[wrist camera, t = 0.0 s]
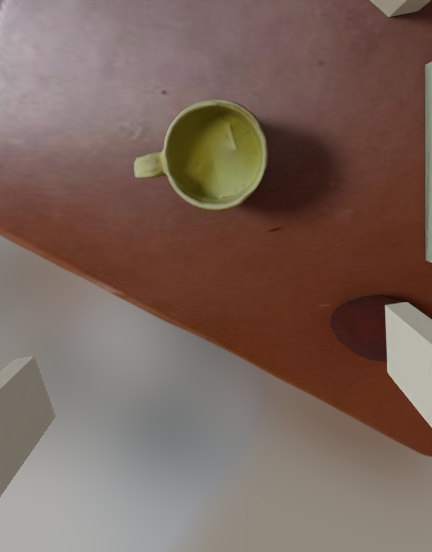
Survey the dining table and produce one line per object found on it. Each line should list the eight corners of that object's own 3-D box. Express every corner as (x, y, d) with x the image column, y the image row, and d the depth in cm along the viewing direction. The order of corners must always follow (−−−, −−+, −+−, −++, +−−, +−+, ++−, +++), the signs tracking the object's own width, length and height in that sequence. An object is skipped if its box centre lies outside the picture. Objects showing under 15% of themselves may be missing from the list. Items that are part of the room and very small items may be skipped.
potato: (396, 350, 44) (422, 379, 38) (316, 335, 43) (330, 361, 37) (416, 296, 42) (448, 317, 36) (333, 280, 41) (351, 298, 35)
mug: (282, 91, 34) (270, 109, 26) (269, 193, 40) (257, 233, 32) (162, 83, 36) (117, 97, 28) (167, 181, 42) (131, 215, 34)
